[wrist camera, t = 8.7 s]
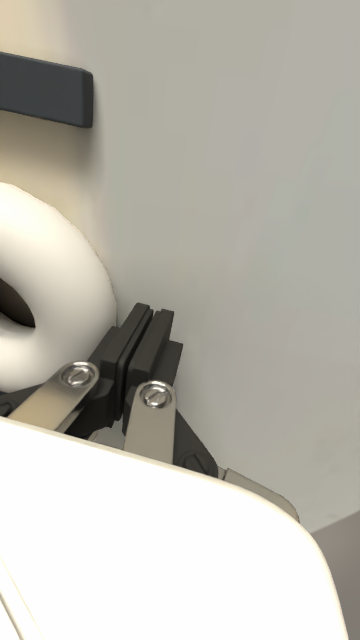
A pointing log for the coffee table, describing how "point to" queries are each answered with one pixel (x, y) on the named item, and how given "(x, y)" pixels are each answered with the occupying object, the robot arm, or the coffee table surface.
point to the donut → (48, 291)
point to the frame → (46, 91)
